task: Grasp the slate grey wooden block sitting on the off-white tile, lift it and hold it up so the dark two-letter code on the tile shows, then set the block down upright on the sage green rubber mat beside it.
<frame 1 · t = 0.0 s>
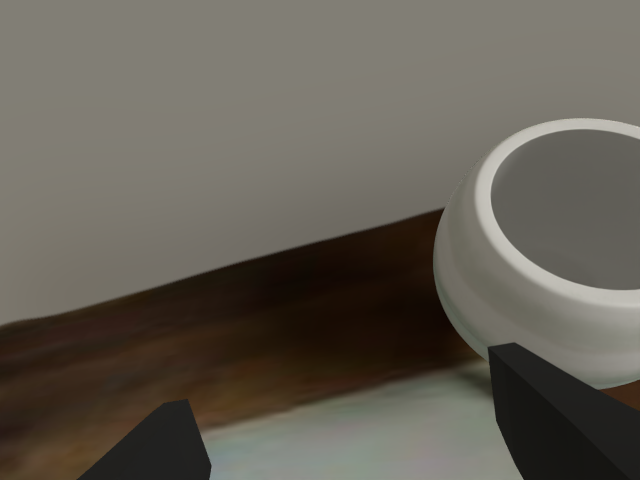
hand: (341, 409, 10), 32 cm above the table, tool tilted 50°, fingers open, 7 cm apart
planter: (511, 338, 42), on the table
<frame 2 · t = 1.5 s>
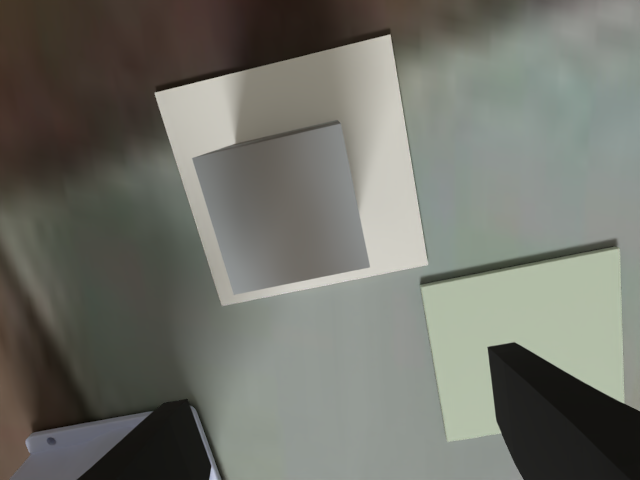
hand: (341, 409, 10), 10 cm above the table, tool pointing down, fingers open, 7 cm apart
sage mat: (524, 349, 21), on the table
code tile: (298, 182, 19), on the table
grey block: (298, 183, 19), resting on code tile
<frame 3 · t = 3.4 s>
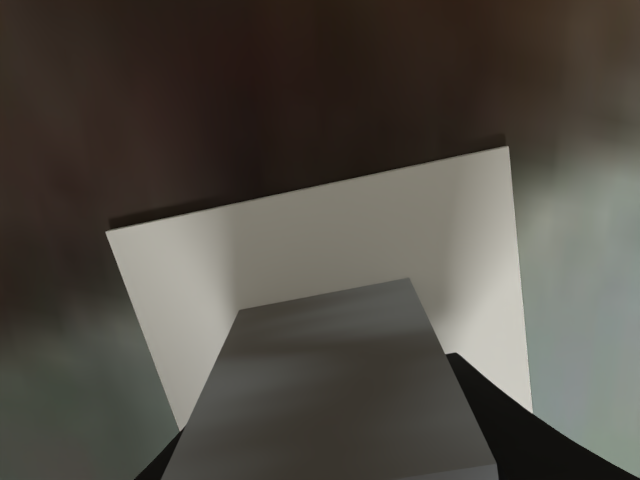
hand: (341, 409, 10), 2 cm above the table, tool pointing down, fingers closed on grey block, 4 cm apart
code tile: (339, 363, 12), on the table
grey block: (340, 368, 12), resting on code tile, touching gripper
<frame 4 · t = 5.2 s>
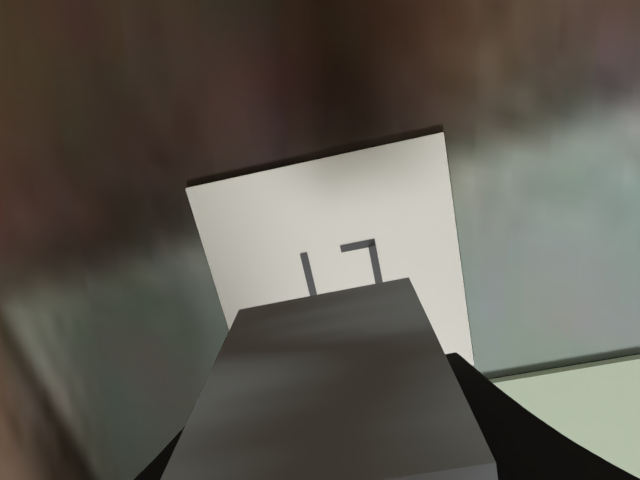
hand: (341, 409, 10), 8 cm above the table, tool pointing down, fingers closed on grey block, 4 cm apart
sage mat: (572, 448, 20), on the table
code tile: (337, 279, 18), on the table
grey block: (339, 367, 12), point 6 cm above the table, touching gripper
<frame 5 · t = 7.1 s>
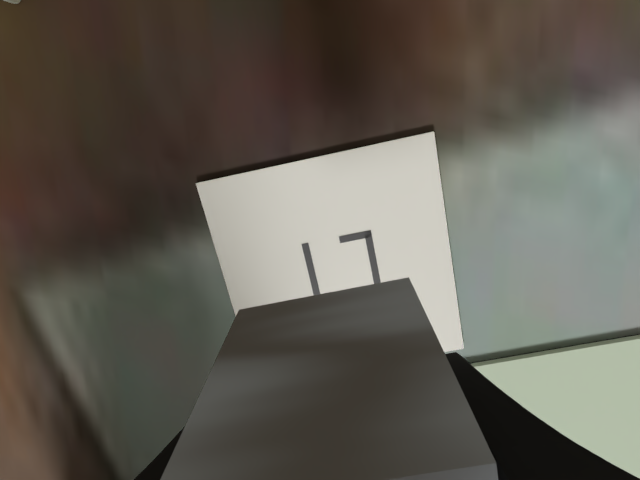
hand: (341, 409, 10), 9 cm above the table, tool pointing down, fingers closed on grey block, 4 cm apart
sage mat: (556, 428, 21), on the table
code tile: (336, 268, 19), on the table
grey block: (339, 367, 12), point 8 cm above the table, touching gripper
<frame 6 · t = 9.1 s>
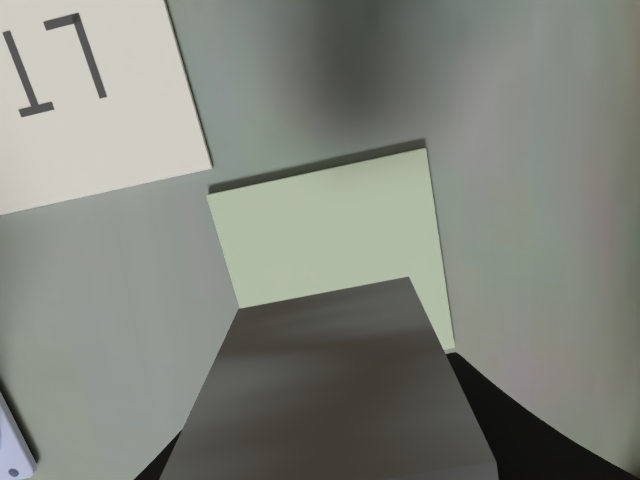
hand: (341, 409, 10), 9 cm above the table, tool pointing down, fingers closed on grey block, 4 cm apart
sage mat: (336, 272, 19), on the table
code tile: (52, 67, 16), on the table
grey block: (339, 367, 12), point 7 cm above the table, touching gripper
when the fingers open (3 cm above the table, at t = 10.8 s): grey block drops 1 cm, resting on sage mat.
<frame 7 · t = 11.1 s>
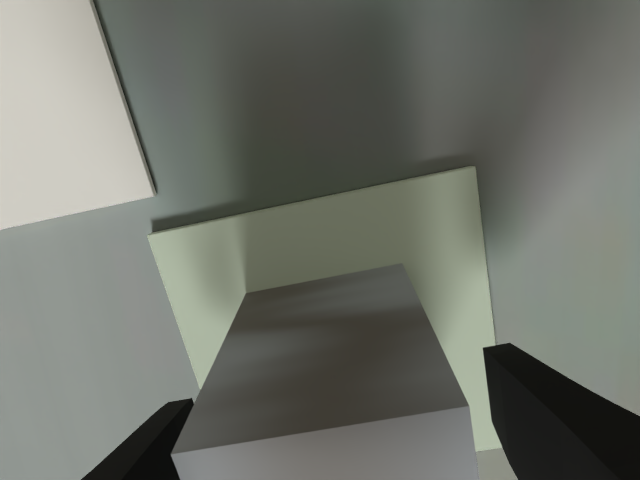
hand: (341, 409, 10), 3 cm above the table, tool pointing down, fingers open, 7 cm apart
sage mat: (339, 343, 13), on the table
grey block: (338, 347, 13), resting on sage mat
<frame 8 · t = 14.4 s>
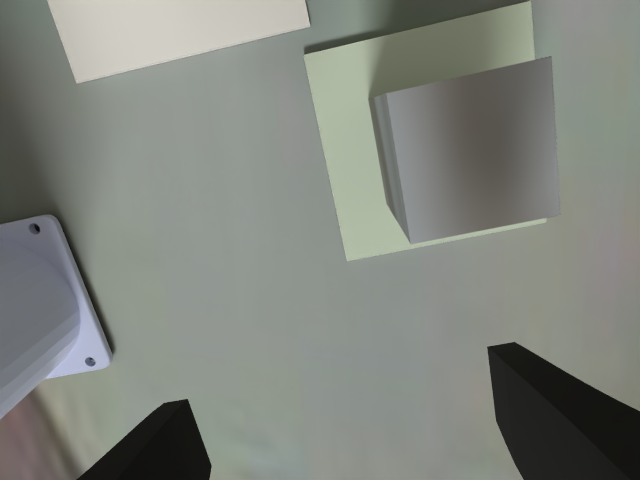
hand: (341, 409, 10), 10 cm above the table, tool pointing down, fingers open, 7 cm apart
sage mat: (429, 142, 18), on the table
grey block: (430, 142, 18), resting on sage mat
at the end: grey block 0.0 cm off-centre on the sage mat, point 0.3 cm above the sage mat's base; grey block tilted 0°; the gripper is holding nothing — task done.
